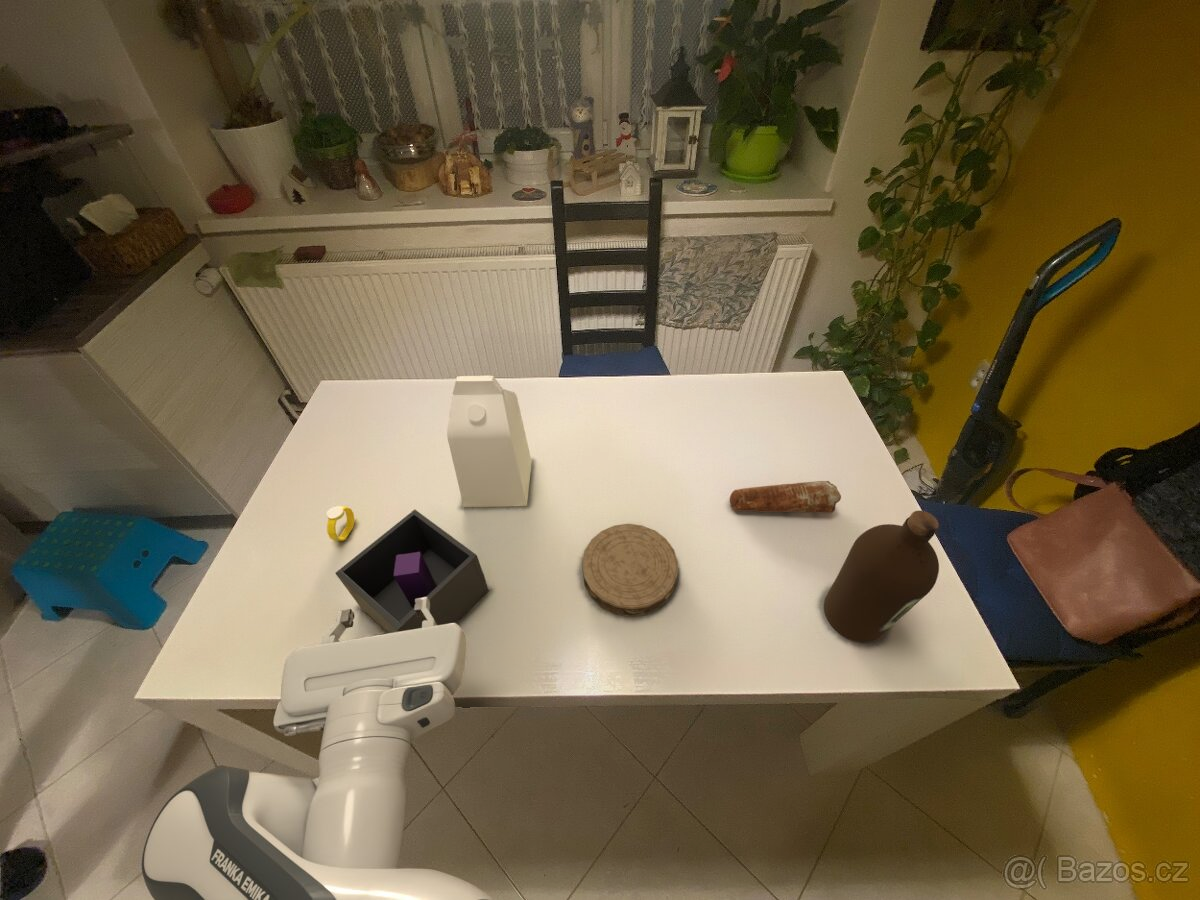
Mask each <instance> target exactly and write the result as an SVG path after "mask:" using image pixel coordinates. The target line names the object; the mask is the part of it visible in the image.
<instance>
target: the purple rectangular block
mask: <svg viewBox="0 0 1200 900" xmlns="http://www.w3.org/2000/svg"><path fill="white" fill-rule="evenodd" d="M394 578H395V579H396V581H397V583H398V585H399V586H400V588H401V590H402V591H403V593H404V595H405V597H406V598H407V600H408V602H409V603H410V605H411V607H412V608H414V606H415V604H416V603H415V599H417V598H422V597H426V596H427V595H428V594H430V593H431V592H432V591H433V590H434V589H435V588H436V583H435V581H434V579H433V577H432V575H431V573H430V571H429V569H428V567H427V564H426V562H425V560H424V558H423V556H422V554H421V552H416V553H409V554H402V555H396V561H395V569H394Z"/></svg>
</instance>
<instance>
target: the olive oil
mask: <svg viewBox="0 0 1200 900" xmlns="http://www.w3.org/2000/svg"><path fill="white" fill-rule="evenodd" d="M939 526H940V524H939V521H938V519H937V517H935V516H934V515H933V514H931V513H930V512H927V511H925V510H914V511H913V512H911V514H910V515H909V517H907V518H906V519H905V521H904V522H903V524H902V525H900V524H893V523H892V524H891V523H888V524H887V523H886V524H878V525H876V526H873V527H870V528H869V529H867V530H865V531H864V532H863V533H861V534H860V535H858V537H857V538H856V539H855V541H854V542H853V544H852V546H851V547H850V550H849V552H848V553H847V556H846V557H845V560H844V561H843V564H842V566H841V568H840V570H839V571H838V574H837V576H836V578H835V579H834V581H833V583H832V584H831V587H830V588H829V590H828V592H827V593H826V595H825V598H824V601H823V612H824V615H825V618H826V619H827V621H828V623H829V624H830V626H831V627H832V628H833V629H834V630H835V631H836V632H837V633H839V634H840V635H841V636H843V637H844V638H846V639H848V640H851V641H853V642H858V643H863V644H864V643H867V644H868V643H873V642H875V641H877V640H879V639H880V638H882V637H883V636H884V635H885V634H886V633H887V632H888V631H889V630H890V629H891V628H892V627H893V626H894V625H895V624H896V623H898V621H900V620H901V619H902V618H903V617H904V616H905V615H906V614H907V613H908V612H910V611H911V609H913V608H914V607H915V606H916V605H917V604H918V603H919V602H921V600H923V599H924V598H925V597H926V596H927V595H928V594H929V593H930V592H931V591H932V589H933V588H934V587H935V585H936V583H937V580H938V577H939V572H940V562H939V557H938V555H937V553H936V550H935V548H934V547H933V545H932V544H931V543H930V540H931V539H932V538H933V537H934V536H935V533H936V531H937V530H938V529H939Z"/></svg>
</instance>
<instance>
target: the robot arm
mask: <svg viewBox="0 0 1200 900" xmlns="http://www.w3.org/2000/svg"><path fill="white" fill-rule="evenodd" d="M415 603H416V604H415V606H414V610H415V612H416V613H417V616H425V618H426V619H427V620H425V621H423V622H422V628H419V629H413V630H407V631H401V632H394V633H383V634H377V635H371V636H364V637H359V638H358V637H357V638H352V639H346V640H341V641H340V640H339V639H340V638H341V636H343V634H344V632H345V631H346V629H349V628H353V627H354V619H355V611H353V609H352V608H348V609H347V608H346V609H341V610H338V611H337V612H336V618H335V622H333V624H332V625H331V627H330V628H329V629H328V630H327V631H326V632H325V633H324V635H323V636H322V640H321V643H320V644H315V645H310V646H303V647H298V648H295V649H293V651H292V652H290V653H289V655H287V656H286V658H285V660H284V665H283V671H282V677H281V687H280V688H281V689H280V700H279V702H278V704H277V706H276V709H275V713H274V716H273V727H274V729H275V730H276V731H277V732H278V733H281V734H283V735H284V736H285V737H294V736H298V735H299V734H305V733H314V732H315V733H316V732H321V731H323V733H322V738H321V744H320V749H319V754H318V769H319V770H318V771H319V776H318V777H307V776H301V775H291V774H290V775H288V774H280V773H279V774H278V773H269V772H258V771H250V770H249V769H243V768H239V767H233V766H229V765H222V764H221V765H217V766H215V767H213V768H211V769H210V770H208V771H205V772H204V773H203V774H201V775H199V776H197V777H196V778H194V779H193V780H191V781H190V782H188V783H187V784H186V785H184V786H183V787H182V788H181V789H179V790H178V791H177V792H175V793H174V794H173V795H172V796H171V797H170V798H169V799H168V800H167V801H166V802H165V804H163V806H162V808H161V809H160V811H159V812H158V814H157V816H156V818H155V819H154V821H153V823H152V825H151V827H150V828H149V832H148V834H147V836H146V839H145V842H144V847H143V851H142V856H141V872H142V877H143V880H144V883H145V886H146V888H147V890H148V892H149V894H150V895H151V898H152V899H153V900H494V898H492V897H491V896H490V895H489V894H488V893H486V892H484V891H483V890H482V889H481V888H479V887H477V885H474V884H472V883H471V882H468V881H466V880H464V879H462V878H459V877H457V876H454V875H452V874H449V873H446V872H444V871H439V870H437V869H431V868H417V867H416V868H415V867H413V868H410V867H409V868H407V867H406V868H404V867H403V868H398V866H399V863H400V862H399V861H400V856H401V851H402V846H403V845H402V844H403V837H404V831H405V830H404V829H405V822H406V821H405V820H406V813H407V811H406V810H407V799H408V796H407V795H408V789H407V785H406V780H405V778H406V777H405V773H406V766H407V762H408V759H409V756H410V753H411V744H412V741H414V740H415V739H417V738H418V737H420V736H422V735H424V734H426V733H427V732H429V731H431V730H433V729H435V728H437V727H439V726H440V725H443V724H444V723H446V722H448V721H450V720H451V719H453V718H454V717H455V714H456V702H455V699H454V694H456V693H457V691H458V690H459V688H460V687H461V684H462V681H463V678H464V673H465V665H466V656H467V636H466V634H465V631H464V630H463V628H462V627H461V626H460V625H459V624H458V623H457V624H456V623H449V624H443V625H437V624H436V622H435V620H434V618H433V617H432V615H431V614H430V601H429V599H428V597H422V598H417V599H415Z"/></svg>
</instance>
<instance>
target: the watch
mask: <svg viewBox="0 0 1200 900" xmlns="http://www.w3.org/2000/svg"><path fill="white" fill-rule="evenodd" d="M325 514H326V517H327V519H328V520H327V524H326V531H327V535H328V537H329V539H330V540H332V541H334V542H335V541H338V542H343V541H345V540H347V539H348V536H349V535H350V533H351V532H352V530H353V529H354V526H355V514H354V511H353V510H352V508H350V507H349V506H341V505H339V506H338V505H336V506H333V507H331V508H329V509H328V510H327V511H326V513H325ZM344 515H345V518H346V522H345V527H344V529H343V530H342V532H341V533H340V535H339V536H338V534H337V532H336V531H337V530H336V529H337V528H336V524H337V521H338V520H340V519H341V518H343V516H344Z"/></svg>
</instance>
